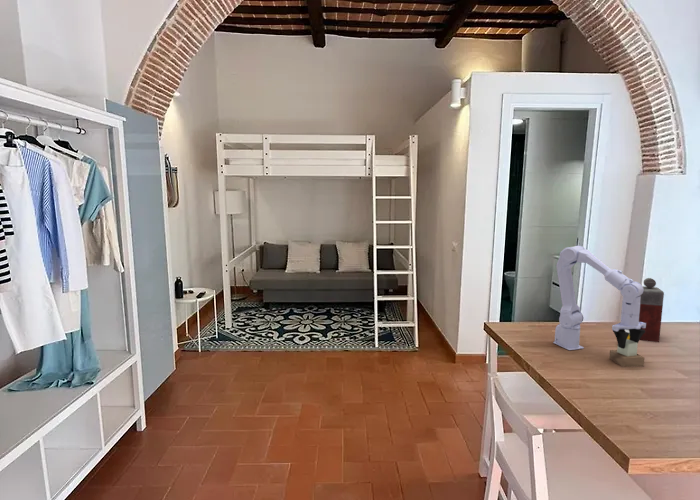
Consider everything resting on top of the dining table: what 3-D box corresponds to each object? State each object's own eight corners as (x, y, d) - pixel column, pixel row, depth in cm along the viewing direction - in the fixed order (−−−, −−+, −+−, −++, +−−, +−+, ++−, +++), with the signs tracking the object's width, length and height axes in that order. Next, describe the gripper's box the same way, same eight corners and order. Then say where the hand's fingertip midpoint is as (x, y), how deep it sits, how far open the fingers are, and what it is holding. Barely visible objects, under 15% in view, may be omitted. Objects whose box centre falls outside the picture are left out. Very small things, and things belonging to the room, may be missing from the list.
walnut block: (609, 359, 161) (609, 350, 160) (628, 359, 161) (629, 349, 160) (623, 368, 153) (624, 358, 152) (643, 367, 153) (644, 357, 152)
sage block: (617, 352, 158) (618, 340, 157) (626, 351, 159) (627, 339, 158) (627, 356, 153) (628, 344, 153) (636, 355, 155) (637, 342, 154)
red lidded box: (652, 334, 188) (657, 276, 184) (659, 342, 178) (665, 281, 174) (629, 332, 191) (634, 274, 188) (635, 339, 181) (640, 279, 178)
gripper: (625, 317, 148) (622, 352, 150) (654, 314, 152) (651, 348, 154) (608, 312, 155) (605, 345, 157) (637, 309, 159) (634, 342, 161)
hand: (627, 346), depth 156 cm, fingers open, 5 cm apart
